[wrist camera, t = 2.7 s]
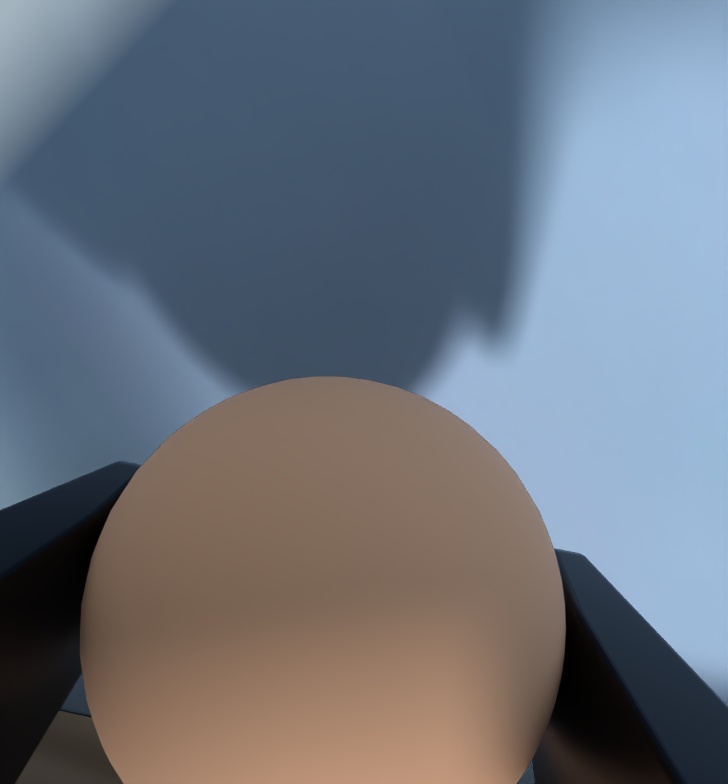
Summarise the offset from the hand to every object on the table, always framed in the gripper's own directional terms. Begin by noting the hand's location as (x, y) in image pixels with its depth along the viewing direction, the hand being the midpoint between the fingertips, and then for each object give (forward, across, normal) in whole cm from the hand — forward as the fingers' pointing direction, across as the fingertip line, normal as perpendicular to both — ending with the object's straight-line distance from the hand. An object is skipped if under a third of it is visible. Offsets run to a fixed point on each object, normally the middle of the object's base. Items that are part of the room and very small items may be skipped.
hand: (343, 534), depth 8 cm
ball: (-1, 0, 0) cm, 1 cm away
